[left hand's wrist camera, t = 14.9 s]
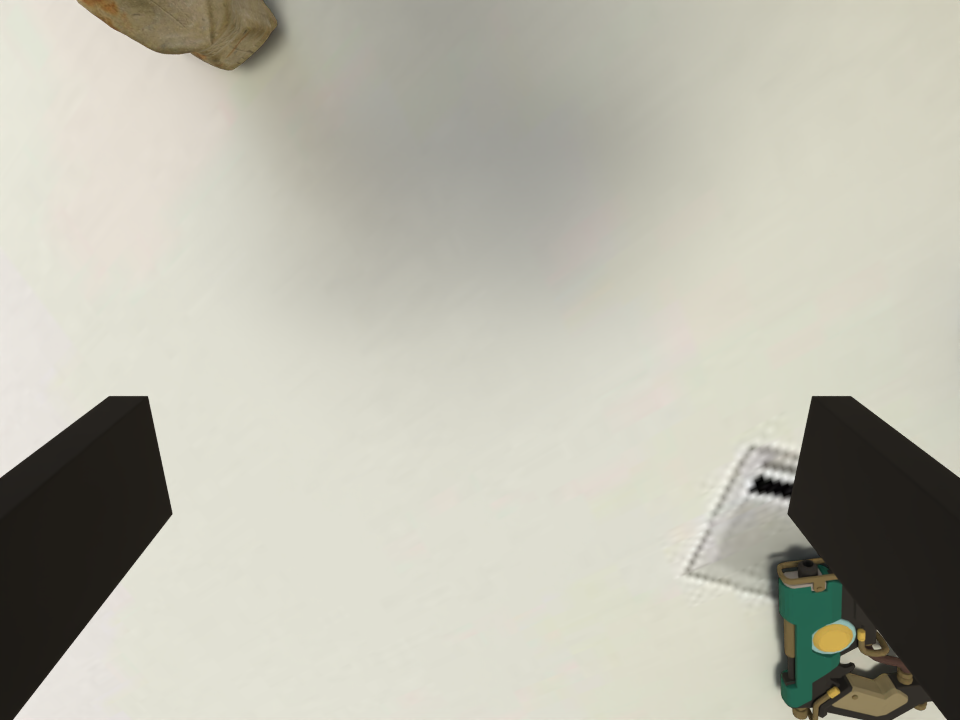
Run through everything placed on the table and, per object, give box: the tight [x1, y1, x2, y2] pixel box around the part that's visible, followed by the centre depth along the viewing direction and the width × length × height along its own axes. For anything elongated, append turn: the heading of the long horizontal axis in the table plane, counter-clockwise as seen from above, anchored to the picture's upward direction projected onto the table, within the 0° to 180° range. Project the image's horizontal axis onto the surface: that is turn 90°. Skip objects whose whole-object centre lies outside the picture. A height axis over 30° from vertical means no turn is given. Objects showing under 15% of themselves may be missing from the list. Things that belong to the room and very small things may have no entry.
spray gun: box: [777, 558, 932, 720], centre depth 48 cm, size 4×17×15 cm
